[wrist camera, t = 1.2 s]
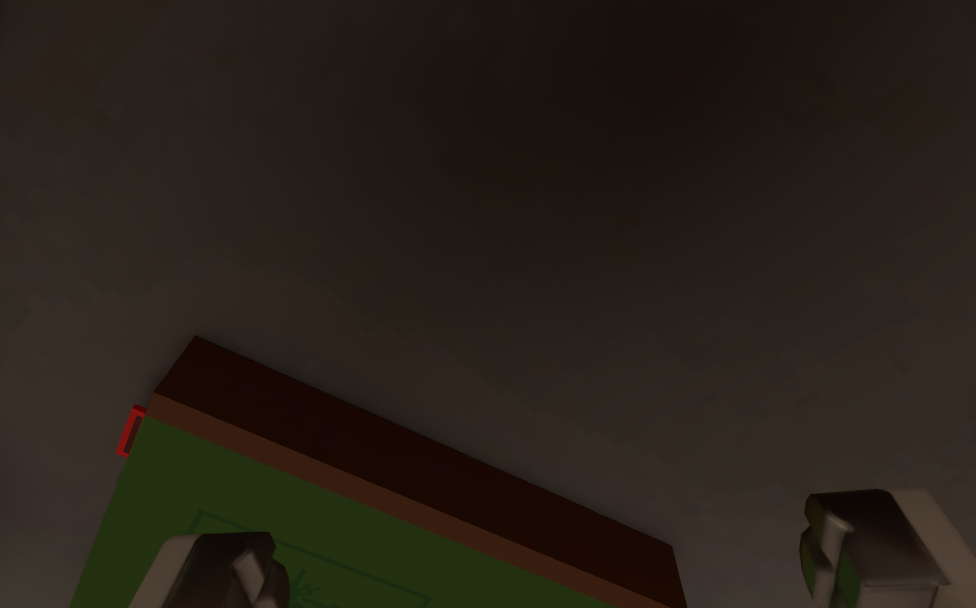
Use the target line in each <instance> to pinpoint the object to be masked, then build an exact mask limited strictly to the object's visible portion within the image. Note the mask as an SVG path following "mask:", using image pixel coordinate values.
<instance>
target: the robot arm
mask: <svg viewBox="0 0 976 608" xmlns="http://www.w3.org/2000/svg"><path fill="white" fill-rule="evenodd" d="M804 513H805V515H806V517H807V520H808V522H809V524H810V526H809V527H808V528H807V529H806V530H805V531H804V532H803V533H802V534H801V540H800V549H799V551H800V559H801V567H802V572H803V575H804V579H805V582H806V585H807V587H808V590H809V592H810V595H811V597H812V599H813V601H814V602H816V603H817V604H818V605H820V606H821V607H822V608H976V556H975V555H974V553H973V552H972V551H971V549H970V548H969V546H968V545H967V544H966V542H965V541H964V540H963V538H962V537H961V535H960V534H959V533H958V531H957V530H956V529H955V527H954V526H953V524H952V523H951V522H950V520H949V519H948V518H947V516H946V515H945V513H944V512H943V511H942V509H941V508H940V507H939V505H938V504H937V502H936V501H935V500H934V498H933V497H932V496H931V494H930V493H929V491H927V490H926V489H924V488H923V487H921V486H914V487H900V488H886V489H882V490H881V489H869V490H856V491H843V492H830V493H817V494H810V496H809V497H808V499H807V500H806V505H805V511H804ZM275 549H276V545H275V543H274V541H273V539H272V536H271V534H270V532H263V531H260V532H235V533H210V534H195V535H174V536H172V537H171V538H169V539H168V540H167V541H166V542H165V543H164V544H163V545H162V547H161V549H160V551H159V553H158V554H157V556H156V558H155V560H154V562H153V563H152V565H151V567H150V569H149V571H148V572H147V574H146V576H145V578H144V580H143V582H142V583H141V585H140V587H139V589H138V591H137V592H136V594H135V596H134V598H133V600H132V601H131V603H130V605H129V607H128V608H289V605H290V593H291V589H290V583H289V576H288V574H287V571H286V569H285V566H284V565H282V564H281V563H279V562H278V561H276V560H275V559H273V558H272V557H273V555H274V552H275Z"/></svg>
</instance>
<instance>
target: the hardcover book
mask: <svg viewBox="0 0 976 608" xmlns="http://www.w3.org/2000/svg"><path fill="white" fill-rule="evenodd" d="M116 454H118V455H121V456H123V457H126V458H128V459H127V461H126V464H125V466H124V469H123V471H122V474H121V476H120V479H119V482H118V484H117V487H116V489H115V492H114V494H113V497H112V499H111V502H110V505H109V507H108V510H107V512H106V515H105V517H104V520H103V522H102V525H101V527H100V530H99V533H98V535H97V538H96V540H95V543H94V545H93V548H92V550H91V553H90V555H89V558H88V561H87V563H86V566H85V568H84V571H83V573H82V576H81V578H80V581H79V584H78V586H77V589H76V591H75V594H74V596H73V599H72V601H71V604H70V606H69V608H128V607H129V605H130V603H131V601H132V600H133V598H134V596H135V594H136V592H137V591H138V589H139V587H140V585H141V583H142V582H143V580H144V578H145V576H146V574H147V572H148V571H149V569H150V567H151V565H152V563H153V562H154V560H155V558H156V556H157V554H158V553H159V551H160V549H161V547H162V545H163V544H164V543H165V542H166V541H167V540H168V539H169V538H171V537H172V536H174V535H195V534H210V533H235V532H260V531H263V532H270V534H271V536H272V539H273V541H274V543H275V545H276V549H275V552H274V555H273V557H272V558H273V559H275V560H276V561H278V562H279V563H281V564H282V565H284V566H285V569H286V571H287V574H288V576H289V583H290V589H291V593H290V605H289V608H687V605H686V601H685V597H684V593H683V589H682V585H681V581H680V577H679V573H678V569H677V565H676V561H675V557H674V553H673V549H672V546H670V545H667V544H665V543H663V542H661V541H658V540H656V539H654V538H651V537H649V536H647V535H645V534H642V533H640V532H638V531H636V530H633V529H631V528H629V527H627V526H624V525H622V524H620V523H618V522H615V521H613V520H611V519H608V518H606V517H604V516H602V515H599V514H597V513H595V512H593V511H590V510H588V509H586V508H584V507H581V506H579V505H577V504H575V503H572V502H570V501H568V500H565V499H563V498H561V497H559V496H556V495H554V494H552V493H550V492H547V491H545V490H543V489H541V488H538V487H536V486H534V485H531V484H529V483H527V482H525V481H522V480H520V479H518V478H516V477H513V476H511V475H509V474H507V473H504V472H502V471H500V470H498V469H495V468H493V467H491V466H488V465H486V464H484V463H482V462H479V461H477V460H475V459H473V458H470V457H468V456H466V455H464V454H461V453H459V452H457V451H454V450H452V449H450V448H448V447H445V446H443V445H441V444H439V443H436V442H434V441H432V440H430V439H427V438H425V437H423V436H421V435H418V434H416V433H414V432H411V431H409V430H407V429H405V428H402V427H400V426H398V425H396V424H393V423H391V422H389V421H387V420H384V419H382V418H380V417H378V416H375V415H373V414H371V413H368V412H366V411H364V410H362V409H359V408H357V407H355V406H353V405H350V404H348V403H346V402H344V401H341V400H339V399H337V398H334V397H332V396H330V395H328V394H325V393H323V392H321V391H319V390H316V389H314V388H312V387H310V386H307V385H305V384H303V383H301V382H298V381H296V380H294V379H291V378H289V377H287V376H285V375H282V374H280V373H278V372H276V371H273V370H271V369H269V368H267V367H264V366H262V365H260V364H257V363H255V362H253V361H251V360H248V359H246V358H244V357H242V356H239V355H237V354H235V353H233V352H230V351H228V350H226V349H224V348H221V347H219V346H217V345H214V344H212V343H210V342H208V341H205V340H203V339H201V338H199V337H196V336H195V337H194V338H193V339H192V341H191V342H190V344H189V345H188V346H187V348H186V349H185V350H184V352H183V353H182V354H181V356H180V357H179V358H178V360H177V361H176V362H175V364H174V365H173V367H172V368H171V369H170V371H169V372H168V373H167V375H166V376H165V377H164V379H163V380H162V381H161V383H160V384H159V386H158V387H157V388H156V390H155V391H154V392H153V395H152V397H151V400H150V403H149V405H148V408H147V409H146V408H143V407H141V406H138V405H136V404H135V405H134V407H133V408H132V410H131V413H130V416H129V418H128V421H127V424H126V426H125V429H124V432H123V434H122V437H121V439H120V442H119V445H118V447H117V450H116Z"/></svg>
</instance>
